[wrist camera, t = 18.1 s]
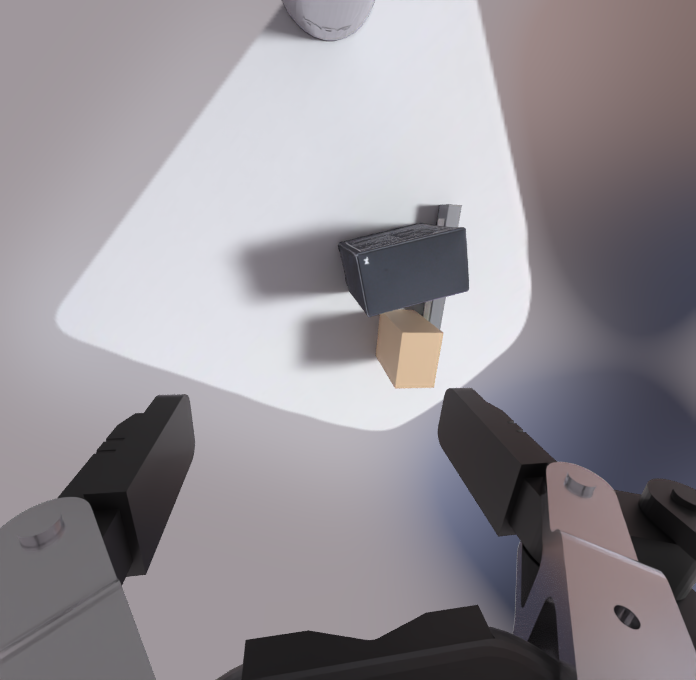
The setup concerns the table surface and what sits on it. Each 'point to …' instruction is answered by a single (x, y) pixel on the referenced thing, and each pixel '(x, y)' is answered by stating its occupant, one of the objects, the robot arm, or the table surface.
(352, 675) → the robot arm
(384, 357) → the kraft carton
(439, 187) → the table surface
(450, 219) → the rail
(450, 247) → the small box
